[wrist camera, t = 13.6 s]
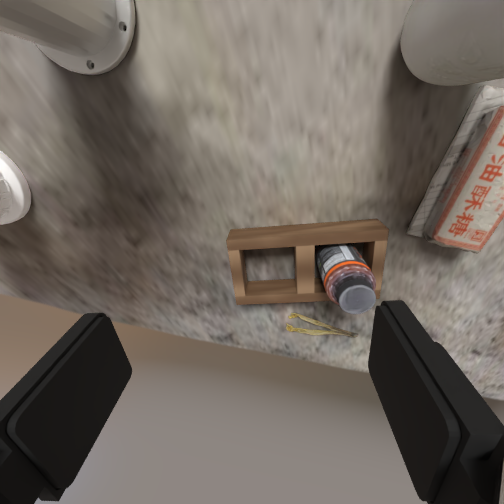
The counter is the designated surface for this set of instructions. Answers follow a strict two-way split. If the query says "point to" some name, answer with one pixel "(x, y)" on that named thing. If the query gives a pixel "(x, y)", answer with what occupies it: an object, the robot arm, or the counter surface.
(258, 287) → the rack
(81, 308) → the counter surface
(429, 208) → the packaged product
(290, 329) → the tongs
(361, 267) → the supplement bottle
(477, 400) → the robot arm
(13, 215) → the decorative container
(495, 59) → the glass bottle
